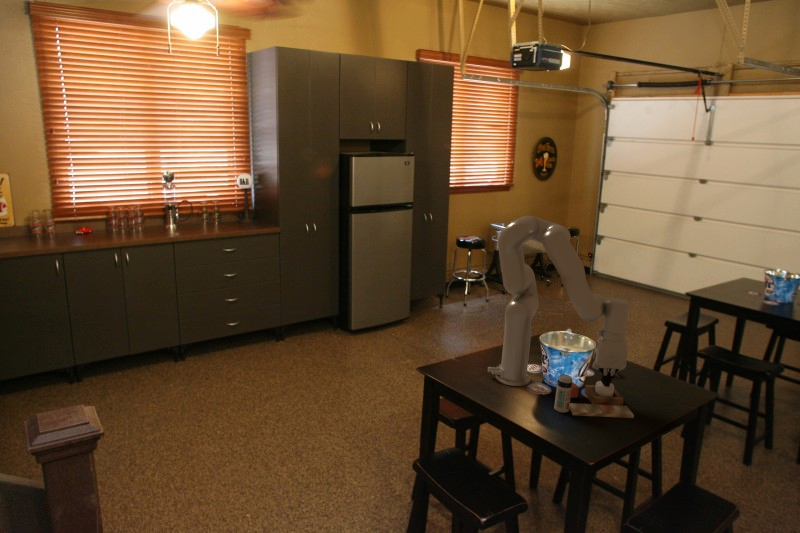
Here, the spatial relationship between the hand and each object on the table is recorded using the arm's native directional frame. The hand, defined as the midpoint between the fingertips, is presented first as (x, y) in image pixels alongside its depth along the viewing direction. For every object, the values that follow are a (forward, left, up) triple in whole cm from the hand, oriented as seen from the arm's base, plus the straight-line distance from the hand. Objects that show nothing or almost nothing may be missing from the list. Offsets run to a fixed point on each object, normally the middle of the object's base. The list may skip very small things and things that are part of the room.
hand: (605, 384), depth 203 cm
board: (-4, -9, -6) cm, 11 cm away
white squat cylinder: (0, 0, -5) cm, 5 cm away
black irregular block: (+10, +24, -7) cm, 26 cm away
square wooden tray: (0, 0, -6) cm, 6 cm away
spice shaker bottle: (-17, -9, -6) cm, 20 cm away
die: (-11, +3, -6) cm, 13 cm away
